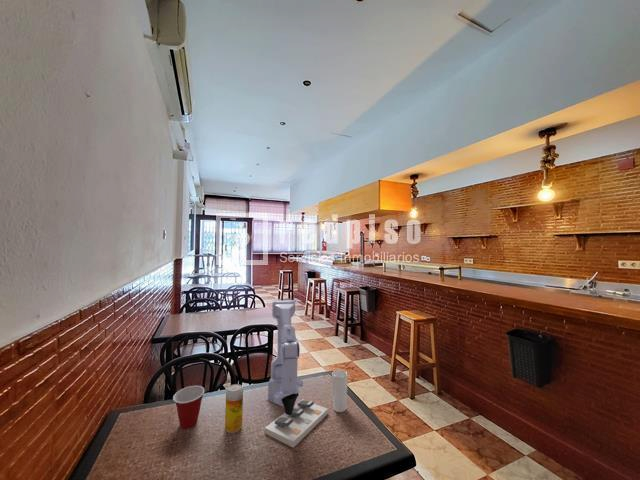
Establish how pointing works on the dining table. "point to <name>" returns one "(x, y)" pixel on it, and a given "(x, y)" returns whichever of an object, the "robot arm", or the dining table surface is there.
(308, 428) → the switch panel
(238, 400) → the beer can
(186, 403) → the plastic cup
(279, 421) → the block
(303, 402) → the block
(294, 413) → the block
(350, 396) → the dining table surface
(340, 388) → the drinking glass
